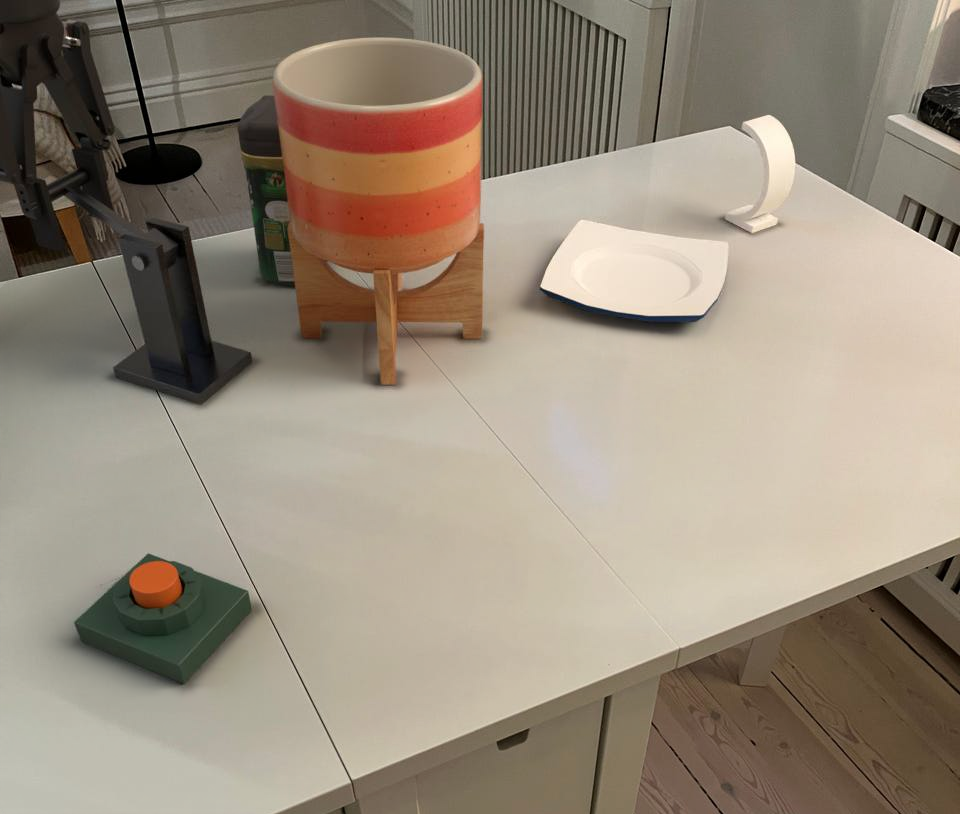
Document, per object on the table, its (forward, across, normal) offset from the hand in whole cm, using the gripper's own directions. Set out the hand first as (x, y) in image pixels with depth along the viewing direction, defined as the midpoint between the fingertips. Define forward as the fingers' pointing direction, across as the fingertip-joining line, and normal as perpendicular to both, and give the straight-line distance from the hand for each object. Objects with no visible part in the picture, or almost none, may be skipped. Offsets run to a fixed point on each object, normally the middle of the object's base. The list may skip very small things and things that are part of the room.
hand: (77, 231), depth 101 cm
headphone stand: (+13, +62, -54) cm, 83 cm away
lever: (-1, 0, -5) cm, 5 cm away
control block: (+13, -31, -32) cm, 46 cm away
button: (+9, -31, -32) cm, 45 cm away
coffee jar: (+13, +24, -8) cm, 28 cm away
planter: (+13, +16, -26) cm, 33 cm away
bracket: (+13, 0, -10) cm, 16 cm away
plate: (+13, +39, -46) cm, 62 cm away
